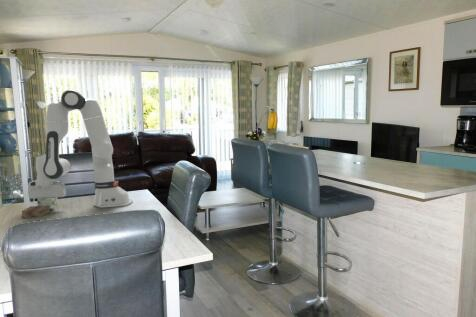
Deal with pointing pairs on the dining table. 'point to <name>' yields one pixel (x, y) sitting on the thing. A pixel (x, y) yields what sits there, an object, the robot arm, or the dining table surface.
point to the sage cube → (48, 202)
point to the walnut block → (35, 211)
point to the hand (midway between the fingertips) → (48, 204)
